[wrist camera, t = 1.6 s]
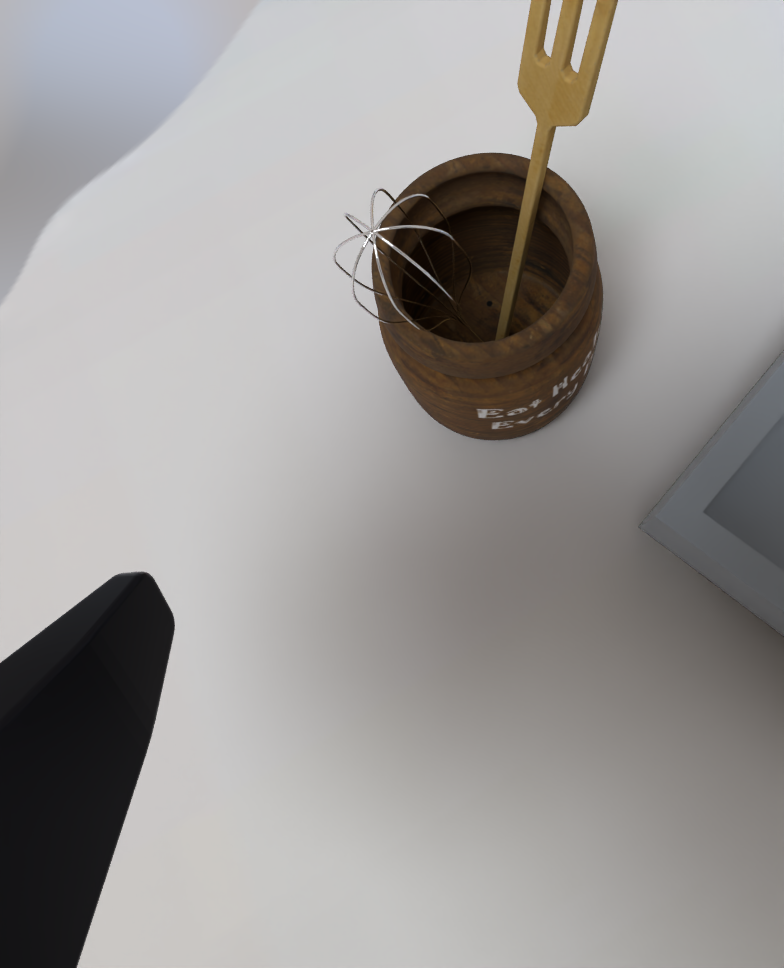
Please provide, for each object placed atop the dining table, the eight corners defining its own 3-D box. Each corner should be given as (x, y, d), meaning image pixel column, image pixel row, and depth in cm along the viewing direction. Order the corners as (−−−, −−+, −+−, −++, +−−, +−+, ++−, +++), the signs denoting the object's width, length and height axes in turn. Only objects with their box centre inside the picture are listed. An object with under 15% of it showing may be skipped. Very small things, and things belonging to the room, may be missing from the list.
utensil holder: (369, 374, 23) (198, 154, 11) (490, 229, 23) (442, -146, 11) (508, 484, 21) (475, 359, 10) (637, 328, 21) (760, 16, 10)
